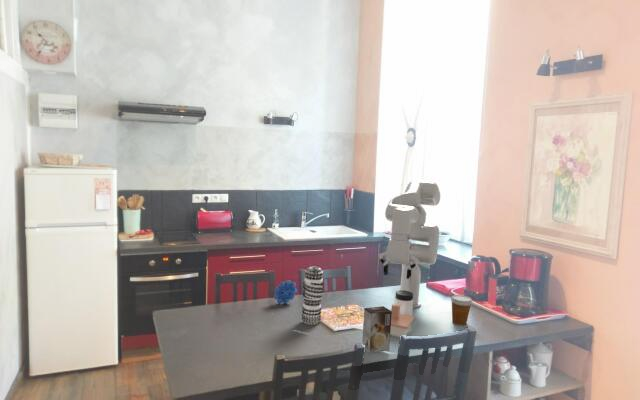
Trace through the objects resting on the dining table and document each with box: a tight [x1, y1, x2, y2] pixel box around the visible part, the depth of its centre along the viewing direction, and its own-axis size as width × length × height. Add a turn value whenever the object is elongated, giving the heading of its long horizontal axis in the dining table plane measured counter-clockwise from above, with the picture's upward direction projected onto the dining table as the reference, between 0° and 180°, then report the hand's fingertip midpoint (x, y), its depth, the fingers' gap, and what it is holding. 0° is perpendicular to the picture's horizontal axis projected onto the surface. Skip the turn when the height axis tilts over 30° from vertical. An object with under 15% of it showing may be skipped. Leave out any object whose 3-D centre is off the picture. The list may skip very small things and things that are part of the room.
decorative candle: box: [301, 265, 325, 326], centre depth 208 cm, size 9×9×25 cm
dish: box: [390, 324, 412, 338], centre depth 204 cm, size 12×12×5 cm
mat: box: [347, 325, 363, 331], centre depth 211 cm, size 14×14×1 cm
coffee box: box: [361, 306, 392, 354], centre depth 185 cm, size 9×6×16 cm
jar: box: [393, 290, 414, 316], centre depth 222 cm, size 9×8×12 cm
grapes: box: [273, 279, 298, 305], centre depth 232 cm, size 12×7×12 cm, turn 110°
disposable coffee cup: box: [450, 294, 473, 326], centre depth 219 cm, size 10×10×12 cm
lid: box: [390, 302, 416, 329], centre depth 204 cm, size 14×14×7 cm
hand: (396, 276), depth 203 cm, fingers open, 9 cm apart
